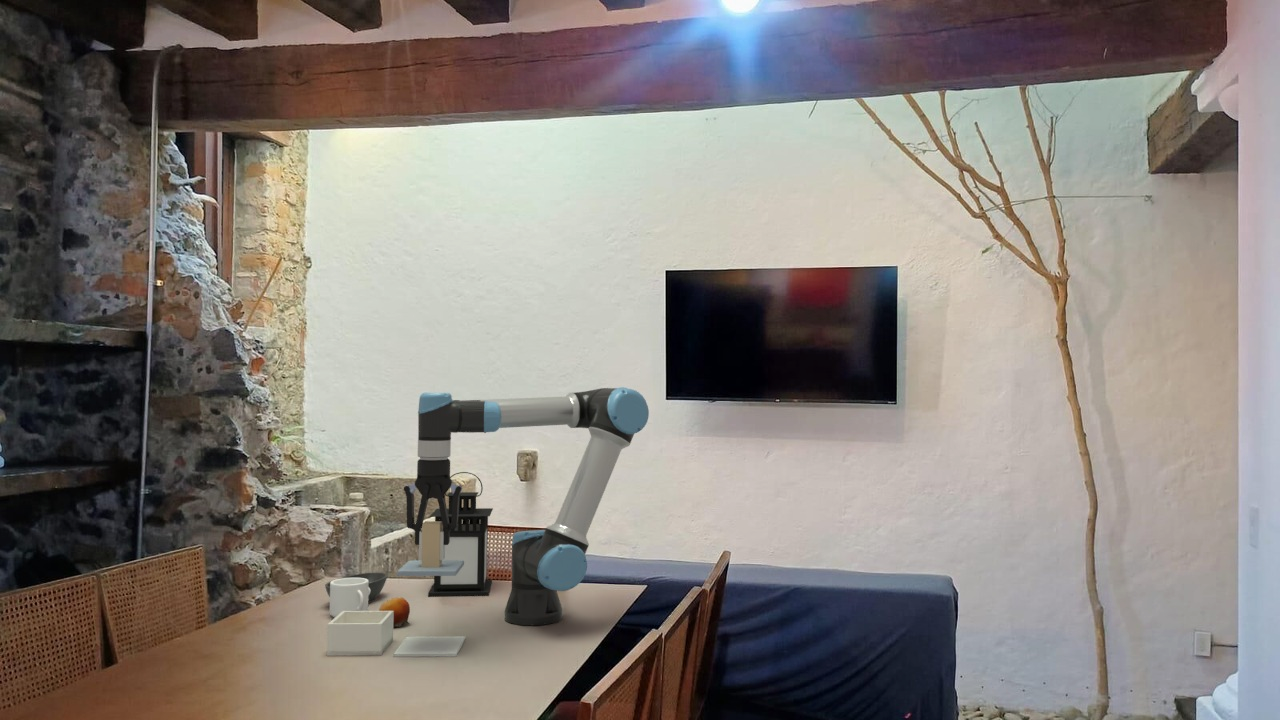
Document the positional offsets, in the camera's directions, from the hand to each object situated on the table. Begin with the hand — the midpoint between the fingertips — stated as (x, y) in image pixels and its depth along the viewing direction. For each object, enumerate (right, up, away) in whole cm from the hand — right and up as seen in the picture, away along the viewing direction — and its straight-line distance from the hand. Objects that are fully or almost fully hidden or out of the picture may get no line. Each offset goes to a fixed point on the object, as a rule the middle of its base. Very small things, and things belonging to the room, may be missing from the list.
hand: (431, 558), depth 205 cm
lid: (0, -3, 0) cm, 3 cm away
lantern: (-5, -23, +59) cm, 64 cm away
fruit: (-14, -21, +19) cm, 32 cm away
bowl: (-31, -22, +43) cm, 57 cm away
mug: (-27, -22, +27) cm, 44 cm away
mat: (0, -20, -1) cm, 20 cm away
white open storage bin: (-16, -20, -2) cm, 26 cm away
